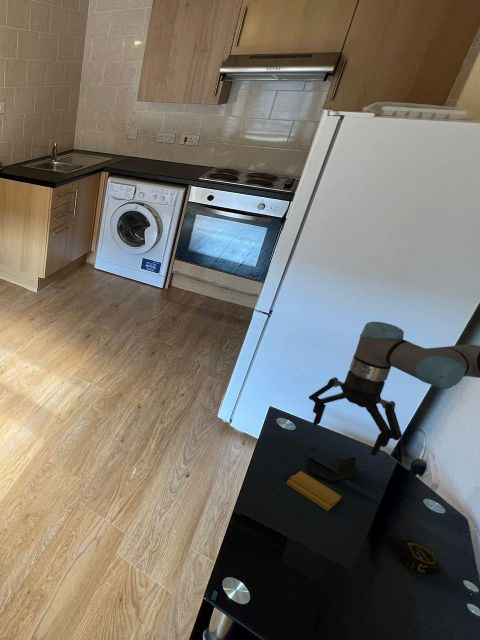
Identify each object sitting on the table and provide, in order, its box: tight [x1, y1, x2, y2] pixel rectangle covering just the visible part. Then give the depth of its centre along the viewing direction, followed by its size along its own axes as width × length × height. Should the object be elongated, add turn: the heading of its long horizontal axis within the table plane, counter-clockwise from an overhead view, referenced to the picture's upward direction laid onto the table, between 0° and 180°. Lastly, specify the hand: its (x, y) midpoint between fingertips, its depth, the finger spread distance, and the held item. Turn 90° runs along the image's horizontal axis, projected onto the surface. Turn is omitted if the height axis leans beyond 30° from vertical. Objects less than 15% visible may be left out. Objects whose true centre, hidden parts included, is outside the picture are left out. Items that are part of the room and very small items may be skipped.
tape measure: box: [390, 538, 439, 575], centre depth 97 cm, size 7×7×4 cm
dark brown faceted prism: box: [307, 456, 357, 486], centre depth 122 cm, size 12×7×10 cm
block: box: [285, 470, 343, 512], centre depth 116 cm, size 10×8×2 cm
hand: (344, 437), depth 119 cm, fingers open, 13 cm apart
